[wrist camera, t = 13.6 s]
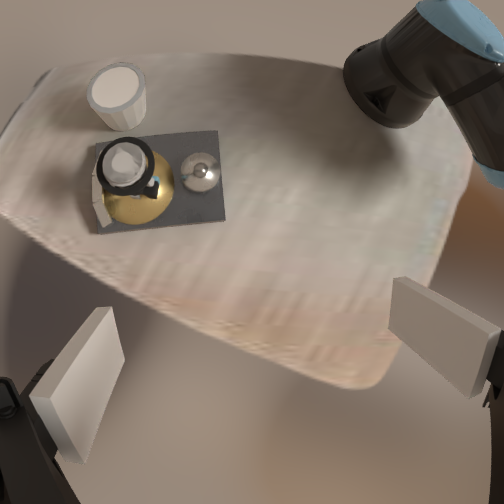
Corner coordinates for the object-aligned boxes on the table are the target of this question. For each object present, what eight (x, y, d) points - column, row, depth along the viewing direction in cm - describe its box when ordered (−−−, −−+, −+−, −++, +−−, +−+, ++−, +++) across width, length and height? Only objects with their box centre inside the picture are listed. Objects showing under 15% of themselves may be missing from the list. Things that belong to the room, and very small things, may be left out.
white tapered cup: (157, 124, 35) (152, 99, 28) (106, 144, 34) (91, 122, 27) (143, 83, 35) (138, 54, 28) (95, 101, 34) (81, 75, 27)
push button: (103, 205, 32) (73, 188, 23) (111, 161, 33) (87, 130, 23) (158, 212, 34) (146, 196, 24) (165, 167, 34) (159, 135, 24)
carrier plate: (216, 134, 37) (219, 122, 33) (224, 221, 37) (228, 217, 33) (98, 147, 34) (89, 136, 30) (100, 234, 34) (90, 232, 30)
